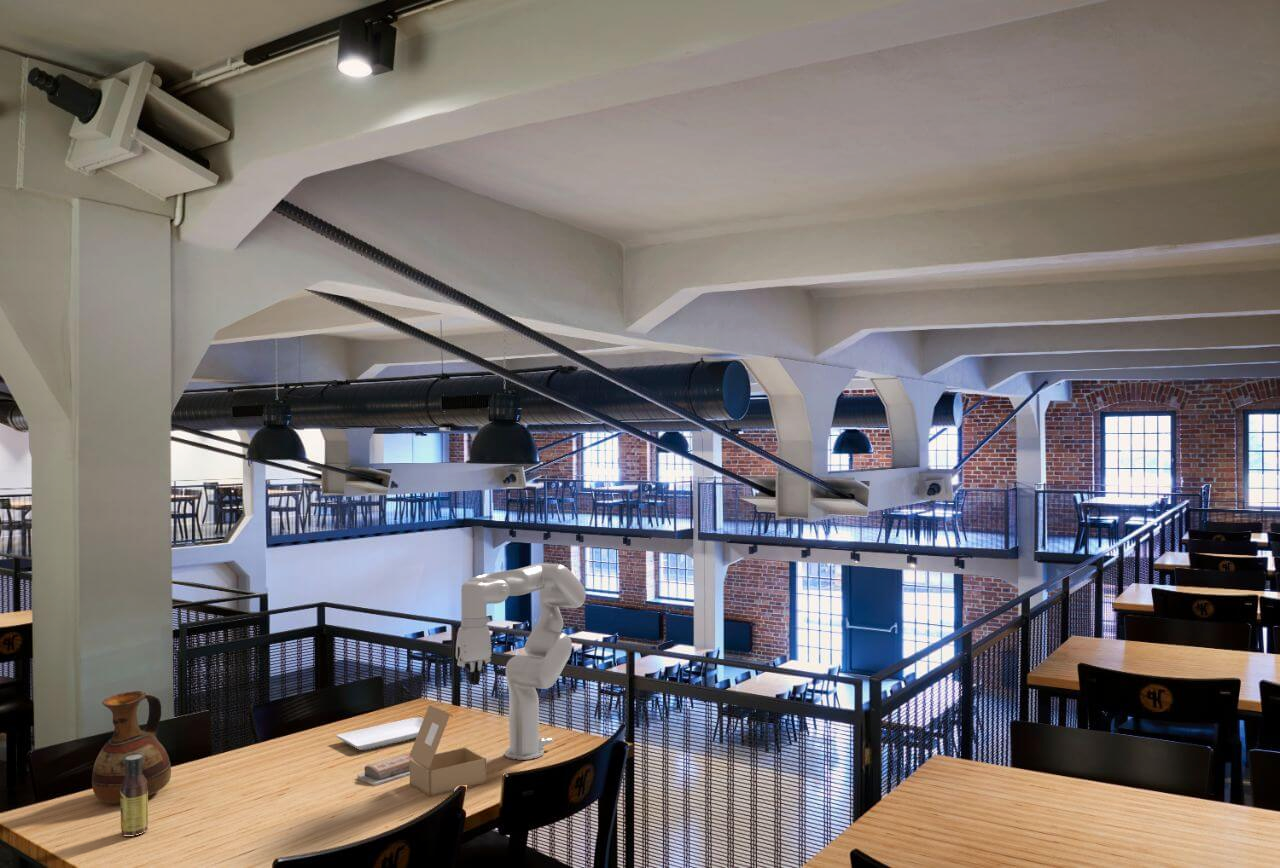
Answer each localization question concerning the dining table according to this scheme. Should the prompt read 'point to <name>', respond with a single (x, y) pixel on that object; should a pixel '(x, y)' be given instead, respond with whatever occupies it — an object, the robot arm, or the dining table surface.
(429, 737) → the lid
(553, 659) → the robot arm
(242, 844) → the dining table surface
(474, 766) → the mailer box
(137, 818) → the sauce bottle
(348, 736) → the tray
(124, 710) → the ceramic pitcher
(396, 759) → the packaged product
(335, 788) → the dining table surface
